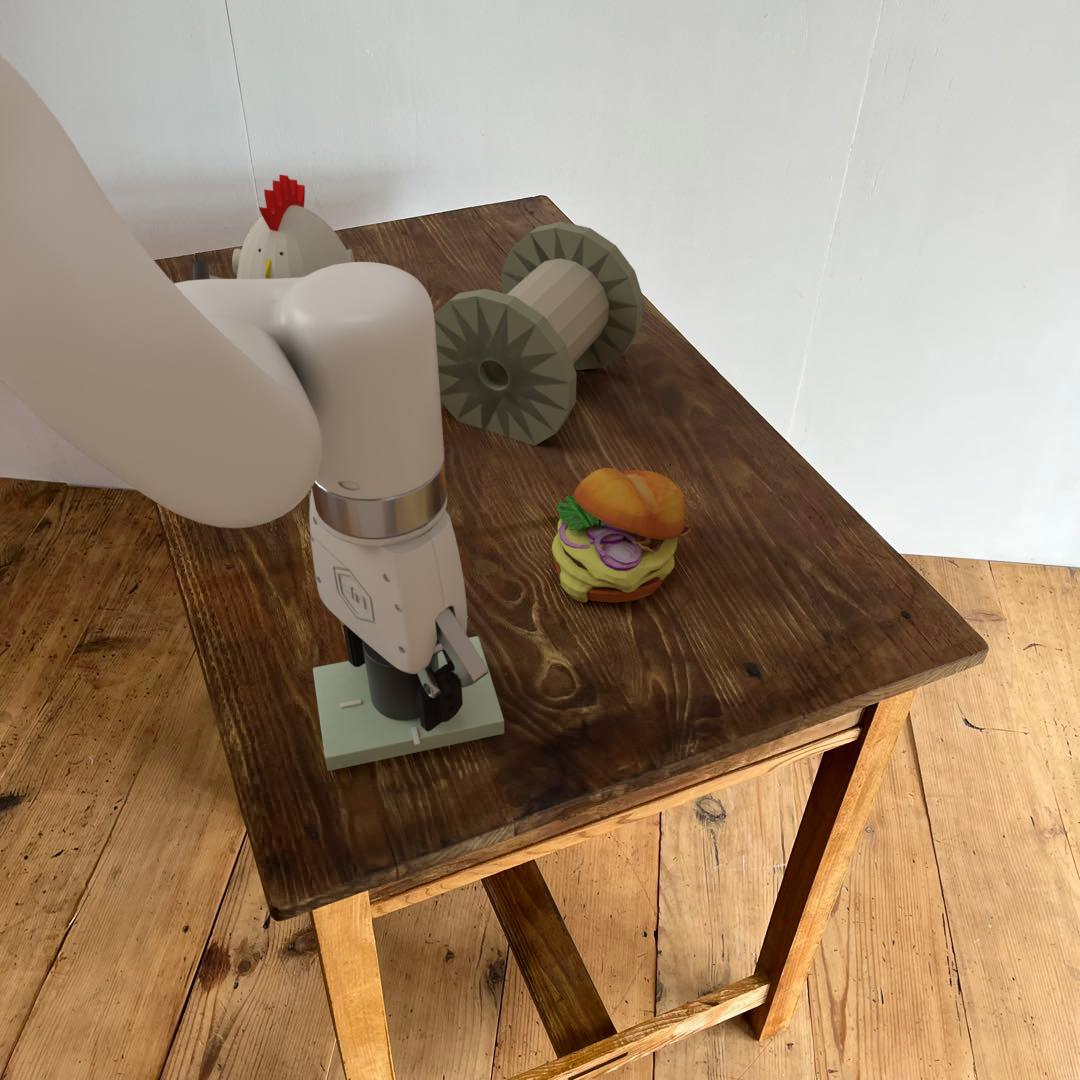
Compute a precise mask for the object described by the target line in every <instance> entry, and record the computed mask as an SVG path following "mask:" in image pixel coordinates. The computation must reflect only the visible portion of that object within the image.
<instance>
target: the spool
mask: <svg viewBox="0 0 1080 1080" xmlns="http://www.w3.org/2000/svg"><path fill="white" fill-rule="evenodd" d="M641 289H642V288H641V286H640V283H639V280H638V277H637V273H636V270H635V269H634V267H633V266H632V265H631V263H630V262H629V261H628V259H627V258H626V257H625V255H624V254H623V253H622V251H621V250H620V249H619V248H618V246H617V245H616V244H615V243H613V242H612V241H610V240H609V239H607V238H606V237H604V236H603V235H602V234H600V233H599V232H597V231H595V230H594V229H592V228H591V227H587V226H583V225H578V224H575V223H570V222H565V221H559V222H554V223H549V224H544V225H540V226H536V227H535V228H534V229H532V230H531V231H530V232H528V234H526V235H525V236H524V237H523V238H522V239H520V240H519V241H518V242H517V243H516V244H514V245H513V246H512V247H511V248H510V250H509V252H508V255H507V257H506V259H505V262H504V264H503V267H502V269H501V292H499V291H495V290H491V289H488V288H482V289H481V288H480V289H475V290H469V291H463V292H459V293H457V294H456V295H455V296H453V297H452V298H451V299H449V300H448V301H447V302H446V303H445V304H444V305H442V306H441V307H440V308H439V309H438V310H436V311H435V312H434V319H435V330H436V344H437V359H438V373H439V387H440V401H441V404H442V405H443V406H444V407H445V408H446V409H447V410H448V412H449V413H450V414H451V416H452V417H453V418H454V419H455V421H457V422H459V423H461V424H465V425H469V426H471V427H475V428H477V429H481V430H484V431H487V432H489V433H493V434H497V435H500V436H503V437H505V438H509V439H512V440H515V441H519V442H521V443H524V444H528V445H530V446H537V445H539V444H540V443H542V442H543V441H545V440H547V439H549V438H551V437H553V436H554V435H556V434H557V433H558V432H559V431H560V430H561V428H562V427H563V426H564V425H565V424H566V421H567V419H568V417H569V416H570V414H571V412H572V410H573V409H574V406H575V405H576V403H577V371H583V370H592V369H602V368H605V367H606V366H608V365H609V364H611V363H612V362H614V361H617V359H619V358H621V357H623V355H625V354H626V353H627V351H628V350H629V349H630V347H631V345H632V344H633V342H634V340H635V339H636V338H637V335H638V334H639V332H640V330H641V328H642V325H643V315H644V314H643V313H644V302H645V299H644V295H643V292H642V290H641ZM576 370H577V371H576Z"/></svg>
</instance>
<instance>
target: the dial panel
mask: <svg viewBox="0 0 1080 1080" xmlns="http://www.w3.org/2000/svg"><path fill="white" fill-rule="evenodd" d="M468 638H469V640H470V641H471V643H472V644H473V646H474V647H475V649H476V651H477V652H478V654H479V655H480V657H481V658H482V660H483V661H484V663H485V665H486V666H487V668H488V674H486V675H485V676H484V677H482V678H481V679H480V680H478V681H477V682H475V683H474V684H473V685H470V686H467V687H464V688H462V699H463V704H462V707H461V708H460V709H459V711H458V713H457V714H456V715H455V716H454V717H453V718H451V719H450V720H449V721H447V722H442V723H440V724H439V725H438V726H436V727H435V728H434V729H432V730H431V731H429V732H427V731H426V730H425V729H424V728H422V727H421V722H420V717H418V718H415V719H411V720H395V719H391V718H388V717H386V716H384V715H382V714H381V713H380V712H378V711H377V709H376V708H375V707H374V705H373V703H372V700H371V695H370V689H369V682H368V676H367V670H366V664H363V665H362V666H360V667H354V666H353V665H352V664H351V663H350V662H349V660H345V661H341V662H335V663H331V664H330V663H329V664H326V665H320V666H315V667H313V668H312V673H313V681H314V688H315V695H316V702H317V710H318V717H319V726H320V731H321V740H322V747H323V755H324V761H325V765H326V770H327V771H329V772H331V771H335V770H338V769H344V768H348V767H349V768H350V767H353V766H357V765H358V766H359V765H364V764H367V763H373V762H377V761H382V760H386V759H391V758H396V757H401V756H406V755H409V754H415V753H419V752H424V751H428V750H429V751H430V750H434V749H439V748H442V747H448V746H452V745H457V744H462V743H466V742H471V741H472V742H473V741H476V740H480V739H485V738H489V737H495V736H499V735H503V734H505V719H504V716H503V711H502V709H501V706H500V702H499V700H498V696H497V692H496V689H495V686H494V683H493V679H492V676H491V672H490V669H489V666H488V663H487V659H486V657H485V656H486V655H485V653H484V649H483V646H482V642H481V639H480V637H479V636H478V635H476V636H471V637H468ZM438 662H439V669H440V668H441V667H442V666H444V665H445V664H447V661H446V659H445V656H444V654H443V652H442V651H441V652H440V653H438Z"/></svg>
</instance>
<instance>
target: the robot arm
mask: <svg viewBox="0 0 1080 1080" xmlns="http://www.w3.org/2000/svg"><path fill="white" fill-rule="evenodd" d="M434 313H435V312H434V305H433V303H432V300H431V296H430V295H429V292H428V291H427V289H426V288H425V286H424V285H423V284H422V282H421V281H419V279H418V278H417V277H415V276H414V275H412V274H411V273H409V272H407V271H405V270H404V269H401V268H399V267H396V266H393V265H391V264H386V263H381V262H372V261H355V262H350V263H343V264H337V265H333V266H329V267H325V268H322V269H319V270H317V271H315V272H313V273H311V274H309V275H307V276H305V277H299V278H282V279H237V278H222V279H204V280H193V279H191V280H185V281H184V280H183V281H179V282H173V281H172V280H171V279H170V277H169V276H168V275H167V274H166V273H165V272H164V270H163V269H162V268H161V267H160V266H159V265H158V264H157V263H156V262H155V260H154V258H153V257H152V256H151V255H150V254H149V253H148V252H147V250H146V249H145V248H144V247H143V245H142V244H141V243H140V241H138V239H137V237H136V236H135V235H134V234H133V233H132V232H131V229H129V227H128V226H127V224H126V223H125V222H124V220H123V219H122V218H121V216H120V215H119V213H118V212H117V211H116V209H115V207H114V206H113V205H112V203H111V202H110V200H109V199H108V197H107V196H106V194H105V193H104V192H103V189H102V188H101V187H100V185H99V183H98V182H97V180H96V178H95V176H94V175H93V173H92V172H91V170H90V168H89V167H88V166H87V163H86V161H85V160H84V159H83V157H82V156H81V154H80V152H79V150H78V149H77V147H76V145H75V144H74V142H73V141H72V139H71V138H70V136H69V135H68V133H67V131H66V130H65V129H64V127H63V126H62V125H61V123H60V122H59V120H58V119H57V117H56V116H55V115H54V114H53V112H52V111H51V110H50V108H49V107H48V105H47V104H46V103H45V102H44V100H43V99H42V98H41V96H40V95H39V94H38V93H37V91H36V90H35V89H34V88H33V87H32V86H31V85H30V83H29V82H28V80H26V78H25V77H24V76H23V75H21V74H20V72H19V71H18V70H17V69H16V68H14V66H12V64H11V63H10V62H8V60H7V59H5V58H4V57H3V56H2V55H1V54H0V381H1V382H2V383H3V384H4V385H5V386H6V387H7V388H8V390H10V391H11V392H12V394H14V395H15V397H17V398H18V399H19V400H20V401H21V402H22V403H23V404H24V405H25V406H26V407H27V408H28V409H29V410H31V411H32V412H33V413H34V414H35V415H36V416H37V417H38V418H39V419H41V421H42V422H44V423H45V424H46V425H47V426H48V427H49V428H51V429H52V430H54V431H55V432H56V433H57V434H58V435H59V436H60V437H62V438H63V439H64V440H66V441H67V443H68V444H71V446H73V447H74V448H76V449H77V450H78V451H80V452H81V453H82V454H84V455H85V456H86V457H88V458H90V460H93V461H94V462H96V463H97V464H99V465H100V466H101V467H103V468H104V469H105V470H106V471H108V472H109V473H111V474H112V475H114V476H115V477H117V478H118V479H120V480H121V481H123V482H124V483H126V484H128V485H129V486H131V487H132V488H133V489H135V490H136V491H137V492H139V493H141V494H142V495H143V496H145V497H147V498H148V499H149V500H151V501H153V502H155V503H156V504H158V505H160V506H161V507H163V508H165V509H167V510H169V511H170V512H173V513H174V514H176V515H178V516H180V517H183V518H185V519H188V520H191V521H194V522H195V523H198V524H202V525H207V526H212V527H216V528H225V529H243V528H244V529H245V528H253V527H256V526H261V525H264V524H268V523H270V522H273V521H275V520H277V519H279V518H281V517H283V516H284V515H286V514H287V513H289V512H290V511H292V510H294V509H295V508H296V507H297V506H298V505H299V504H300V503H301V502H302V501H303V500H304V499H305V498H306V497H307V495H308V494H309V492H310V497H309V510H308V511H309V512H308V516H309V517H308V518H309V534H310V547H311V552H312V553H311V554H312V562H313V569H314V577H315V581H316V586H317V587H316V588H317V591H318V596H319V598H320V600H321V601H322V603H323V605H324V606H325V607H326V608H327V609H328V610H329V612H331V613H332V614H333V616H335V617H336V618H337V619H338V620H339V621H340V622H342V623H343V625H342V631H343V634H344V636H343V637H344V640H345V647H346V652H347V657H348V661H349V662H350V663H351V664H352V665H353V666H354V667H360V666H362V665H363V664H365V658H364V652H363V645H362V642H363V641H365V642H366V643H367V644H368V645H369V646H370V647H372V648H373V649H374V650H375V651H376V652H377V653H379V654H380V655H381V656H382V657H383V658H385V659H386V660H387V661H388V662H389V663H391V664H392V665H393V666H395V667H396V668H398V669H399V670H401V671H404V672H406V673H410V674H416V673H417V674H418V677H419V679H420V681H421V684H422V685H421V686H420V687H419V688H418V690H417V696H418V705H419V713H420V722H421V727H422V728H424V729H425V730H426V731H427V732H429V731H431V730H432V729H434V728H435V727H436V726H438V725H439V724H440V723H442V722H447V721H449V720H450V719H451V718H453V717H454V716H455V715H456V714H457V713H458V711H459V709H460V708H461V707H462V704H463V699H462V688H464V687H467V686H470V685H473V684H474V683H475V682H477V681H478V680H480V679H481V678H482V677H484V676H485V675H486V674H488V669H489V667H488V668H487V666H488V665H487V666H486V665H485V663H484V661H483V660H482V658H481V657H480V655H479V654H478V652H477V651H476V649H475V647H474V646H473V644H472V643H471V641H470V640H469V638H470V637H469V636H468V635H467V632H468V631H467V630H468V606H467V594H466V585H465V579H464V572H463V567H462V561H461V557H460V552H459V546H458V543H457V539H456V534H455V531H454V528H453V524H452V520H451V516H450V514H449V512H447V506H448V491H447V490H448V489H447V475H446V461H445V459H446V458H445V446H444V445H445V444H444V434H443V433H444V432H443V417H442V415H443V414H442V402H441V401H440V387H439V373H438V359H437V344H436V330H435V319H434ZM441 651H442V652H443V654H444V656H445V659H446V661H447V664H445V665H444V666H442V667H441V668H440V669H438V670H437V671H435V672H433V670H432V667H431V665H430V661H431V658H432V657H434V656H435V655H437V654H438V653H440V652H441Z"/></svg>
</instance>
